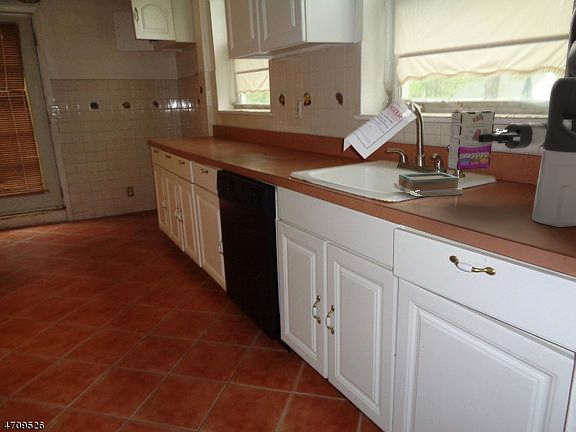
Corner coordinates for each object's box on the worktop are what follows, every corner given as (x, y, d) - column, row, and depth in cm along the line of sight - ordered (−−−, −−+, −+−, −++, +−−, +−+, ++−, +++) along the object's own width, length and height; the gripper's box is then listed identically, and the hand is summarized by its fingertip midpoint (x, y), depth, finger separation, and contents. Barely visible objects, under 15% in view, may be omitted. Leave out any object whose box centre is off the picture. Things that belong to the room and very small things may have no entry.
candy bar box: (478, 165, 129) (484, 109, 125) (489, 168, 125) (496, 110, 120) (446, 167, 127) (451, 110, 122) (456, 170, 122) (462, 111, 117)
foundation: (462, 194, 132) (464, 178, 130) (414, 196, 128) (416, 181, 127) (437, 185, 145) (439, 171, 143) (394, 187, 141) (395, 173, 140)
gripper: (509, 121, 132) (460, 122, 129) (545, 124, 119) (490, 126, 116) (506, 145, 134) (457, 147, 131) (541, 151, 121) (487, 153, 118)
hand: (473, 137), depth 123 cm, fingers closed on candy bar box, 5 cm apart
